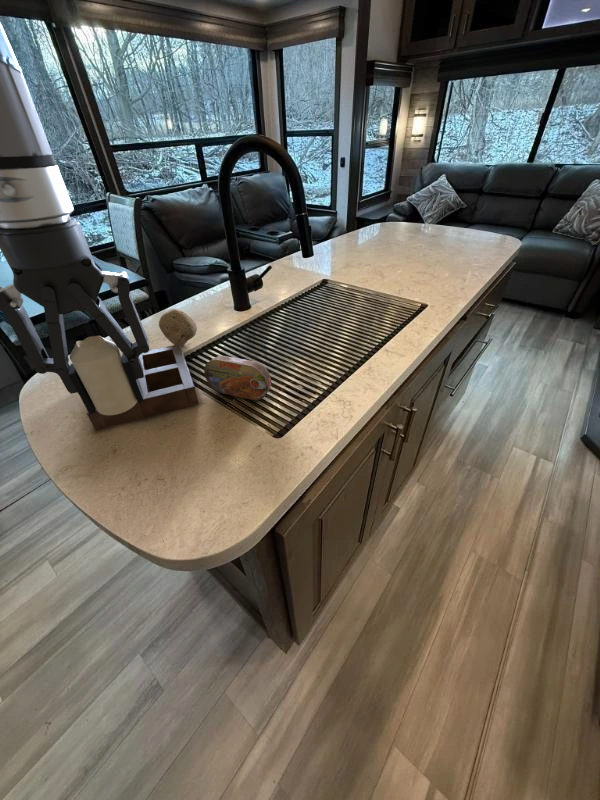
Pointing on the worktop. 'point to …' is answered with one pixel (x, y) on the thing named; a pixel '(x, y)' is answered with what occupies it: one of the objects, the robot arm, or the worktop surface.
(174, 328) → the natural sponge
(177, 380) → the rack
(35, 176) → the robot arm
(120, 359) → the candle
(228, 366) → the tin
